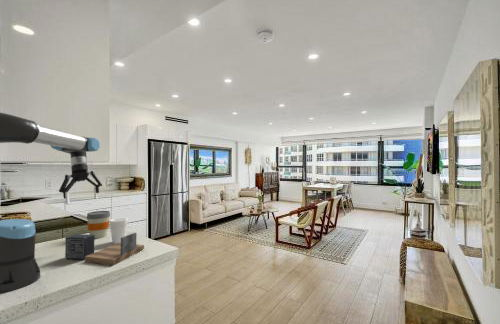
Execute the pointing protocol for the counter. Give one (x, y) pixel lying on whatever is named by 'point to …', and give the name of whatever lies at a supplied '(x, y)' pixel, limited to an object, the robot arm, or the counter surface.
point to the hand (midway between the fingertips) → (82, 201)
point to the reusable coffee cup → (98, 223)
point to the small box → (79, 246)
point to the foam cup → (118, 229)
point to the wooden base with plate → (116, 251)
